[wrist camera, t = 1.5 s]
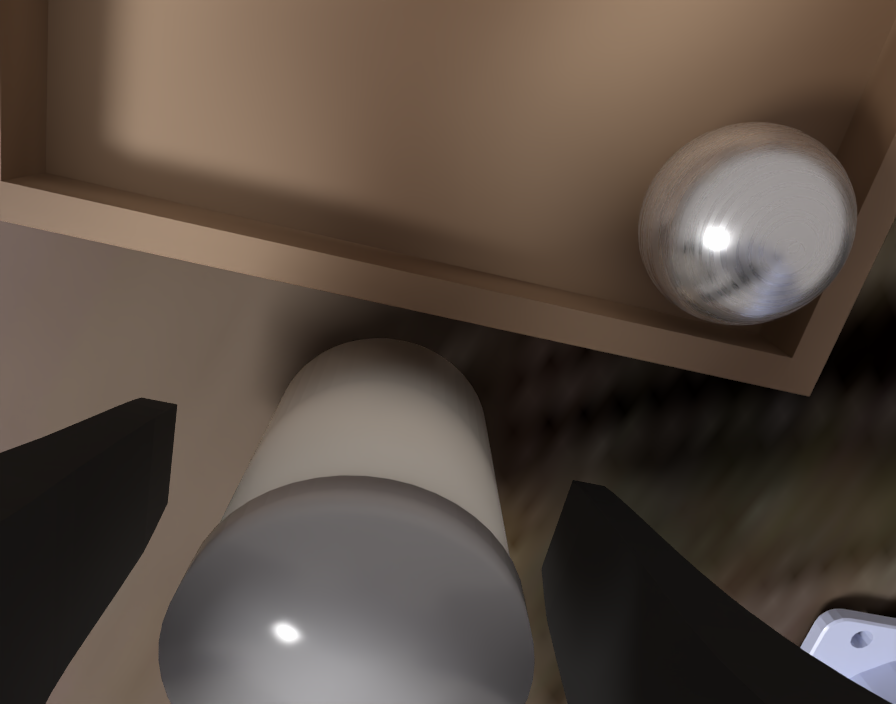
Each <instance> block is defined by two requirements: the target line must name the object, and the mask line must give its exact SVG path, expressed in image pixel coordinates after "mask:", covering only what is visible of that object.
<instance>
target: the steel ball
mask: <svg viewBox="0 0 896 704" xmlns="http://www.w3.org/2000/svg"><path fill="white" fill-rule="evenodd" d="M856 225H857V204H856V197H855V194H854V190H853V187H852V184H851V181H850V179H849V177H848V175H847V173H846V171H845V169H844V168H843V166H842V165H841V163H840V162H839V160H838V159H837V158H836V157H835V156H834V155H833V154H832V153H831V152H830V151H829V149H828V148H827V147H825V146H824V145H823V144H822V143H820V142H819V141H818V140H816V139H814V138H813V137H811V136H809V135H807V134H805V133H803V132H802V131H800V130H797V129H794V128H791V127H788V126H784V125H779V124H774V123H768V122H748V123H738V124H732V125H728V126H723V127H720V128H718V129H715V130H712V131H710V132H707V133H705V134H703V135H701V136H699V137H697V138H695V139H693V140H692V141H690V142H689V143H687V144H686V145H684V146H683V147H681V148H680V149H679V150H678V151H677V152H676V153H674V154H673V155H672V156H671V157H670V158H669V159H668V160H667V162H666V163H665V164H664V165H663V166H662V167H661V168H660V170H659V171H658V173H657V174H656V175H655V177H654V178H653V180H652V182H651V184H650V185H649V187H648V189H647V192H646V194H645V196H644V199H643V202H642V206H641V209H640V214H639V221H638V244H639V250H640V254H641V258H642V261H643V264H644V266H645V268H646V271H647V273H648V275H649V277H650V278H651V280H652V282H653V283H654V285H655V286H656V287H657V288H658V289H659V291H660V292H661V293H662V294H663V295H664V296H665V297H666V298H667V299H668V300H669V301H670V302H671V303H673V304H674V305H675V306H677V307H679V308H680V309H682V310H683V311H685V312H686V313H688V314H690V315H693V316H695V317H697V318H700V319H703V320H706V321H710V322H713V323H718V324H724V325H753V324H760V323H764V322H769V321H772V320H775V319H778V318H781V317H784V316H787V315H789V314H791V313H793V312H795V311H797V310H799V309H800V308H802V307H804V306H805V305H807V304H808V303H810V302H811V301H812V300H814V299H815V298H816V297H817V296H819V295H820V294H821V293H822V292H823V291H824V290H825V289H826V288H827V287H828V286H829V285H830V284H831V282H832V281H833V280H834V279H835V278H836V276H837V275H838V273H839V272H840V270H841V269H842V267H843V265H844V264H845V262H846V260H847V258H848V256H849V253H850V251H851V248H852V245H853V241H854V237H855V233H856Z"/></svg>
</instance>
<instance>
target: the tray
mask: <svg viewBox="0 0 896 704" xmlns="http://www.w3.org/2000/svg"><path fill="white" fill-rule="evenodd" d="M748 122H768V123H774V124H779V125H784V126H788V127H791V128H794V129H797V130H800V131H802V132H803V133H805V134H807V135H809V136H811V137H813V138H814V139H816V140H818V141H819V142H820V143H822V144H823V145H824V146H825V147H827V148H828V149H829V151H830V152H831V153H832V154H833V155H834V156H835V157H836V158H837V159H838V160H839V162H840V163H841V165H842V166H843V168H844V169H845V171H846V173H847V175H848V177H849V179H850V181H851V184H852V187H853V190H854V194H855V197H856V204H857V225H856V233H855V237H854V241H853V245H852V248H851V251H850V253H849V256H848V258H847V260H846V262H845V264H844V265H843V267H842V269H841V270H840V272H839V273H838V275H837V276H836V278H835V279H834V280H833V281H832V282H831V284H830V285H829V286H828V287H827V288H826V289H825V290H824V291H823V292H822V293H821V294H820V295H819V296H817V297H816V298H815V299H814V300H812V301H811V302H810V303H808V304H807V305H805V306H804V307H802V308H800V309H799V310H797V311H795V312H793V313H791V314H789V315H787V316H784V317H781V318H778V319H775V320H772V321H769V322H764V323H760V324H753V325H724V324H718V323H713V322H710V321H706V320H703V319H700V318H697V317H695V316H693V315H690V314H688V313H686V312H685V311H683V310H682V309H680V308H679V307H677V306H675V305H674V304H673V303H671V302H670V301H669V300H668V299H667V298H666V297H665V296H664V295H663V294H662V293H661V292H660V291H659V289H658V288H657V287H656V286H655V285H654V283H653V282H652V280H651V278H650V277H649V275H648V273H647V271H646V268H645V266H644V264H643V261H642V258H641V254H640V250H639V244H638V221H639V214H640V209H641V206H642V202H643V199H644V196H645V194H646V192H647V189H648V187H649V185H650V184H651V182H652V180H653V178H654V177H655V175H656V174H657V173H658V171H659V170H660V168H661V167H662V166H663V165H664V164H665V163H666V162H667V160H668V159H669V158H670V157H671V156H672V155H673V154H674V153H676V152H677V151H678V150H679V149H680V148H681V147H683V146H684V145H686V144H687V143H689V142H690V141H692V140H693V139H695V138H697V137H699V136H701V135H703V134H705V133H707V132H710V131H712V130H715V129H718V128H720V127H723V126H728V125H732V124H738V123H748ZM895 218H896V0H0V221H4V222H9V223H14V224H18V225H23V226H27V227H32V228H37V229H41V230H46V231H50V232H55V233H60V234H64V235H69V236H73V237H78V238H83V239H87V240H92V241H96V242H101V243H106V244H110V245H115V246H119V247H124V248H129V249H133V250H138V251H142V252H147V253H152V254H156V255H161V256H165V257H170V258H175V259H179V260H184V261H188V262H193V263H198V264H202V265H207V266H211V267H216V268H221V269H225V270H230V271H234V272H239V273H244V274H248V275H253V276H257V277H262V278H267V279H271V280H276V281H280V282H285V283H289V284H294V285H299V286H303V287H308V288H312V289H317V290H322V291H326V292H331V293H335V294H340V295H345V296H349V297H354V298H358V299H363V300H368V301H372V302H377V303H381V304H386V305H391V306H395V307H400V308H404V309H409V310H414V311H418V312H423V313H427V314H432V315H437V316H441V317H446V318H450V319H455V320H460V321H464V322H469V323H473V324H478V325H483V326H487V327H492V328H496V329H501V330H506V331H510V332H515V333H519V334H524V335H529V336H533V337H538V338H542V339H547V340H552V341H556V342H561V343H565V344H570V345H575V346H579V347H584V348H588V349H593V350H598V351H602V352H607V353H611V354H616V355H621V356H625V357H630V358H634V359H639V360H644V361H648V362H653V363H657V364H662V365H667V366H671V367H676V368H680V369H685V370H690V371H694V372H699V373H703V374H708V375H713V376H717V377H722V378H726V379H731V380H736V381H740V382H745V383H749V384H754V385H759V386H763V387H768V388H772V389H777V390H782V391H786V392H791V393H795V394H800V395H805V396H809V397H810V394H811V392H812V390H813V388H814V386H815V384H816V382H817V380H818V378H819V376H820V374H821V372H822V369H823V367H824V365H825V363H826V361H827V359H828V357H829V355H830V353H831V351H832V349H833V347H834V345H835V342H836V340H837V338H838V336H839V334H840V332H841V330H842V328H843V326H844V324H845V322H846V320H847V317H848V315H849V313H850V311H851V309H852V307H853V305H854V303H855V301H856V299H857V297H858V295H859V292H860V290H861V288H862V286H863V284H864V282H865V280H866V278H867V276H868V274H869V272H870V270H871V267H872V265H873V263H874V261H875V259H876V257H877V255H878V253H879V251H880V249H881V247H882V245H883V243H884V240H885V238H886V236H887V234H888V232H889V230H890V228H891V226H892V224H893V222H894V220H895Z"/></svg>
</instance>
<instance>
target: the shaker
mask: <svg viewBox="0 0 896 704" xmlns="http://www.w3.org/2000/svg"><path fill="white" fill-rule="evenodd" d="M159 666H160V672H161V678H162V682H163V685H164V687H165V690H166V693H167V696H168V698H169V700H170V702H171V704H525V702H526V700H527V698H528V695H529V691H530V688H531V684H532V680H533V672H534V646H533V640H532V634H531V629H530V624H529V619H528V614H527V608H526V603H525V598H524V594H523V589H522V585H521V581H520V578H519V576H518V573H517V571H516V568H515V566H514V564H513V562H512V560H511V558H510V556H509V551H508V545H507V540H506V534H505V528H504V523H503V517H502V512H501V506H500V500H499V495H498V489H497V483H496V478H495V472H494V467H493V461H492V455H491V450H490V444H489V438H488V433H487V427H486V422H485V417H484V413H483V408H482V406H481V403H480V401H479V398H478V396H477V394H476V392H475V391H474V389H473V387H472V385H471V384H470V383H469V381H468V380H467V379H466V378H465V376H464V375H463V374H462V373H461V372H460V371H459V370H458V369H457V368H456V367H455V366H454V365H453V364H451V363H450V362H449V361H447V360H446V359H445V358H444V357H442V356H440V355H438V354H437V353H435V352H433V351H431V350H429V349H427V348H425V347H422V346H420V345H417V344H414V343H410V342H407V341H402V340H396V339H388V338H371V339H361V340H356V341H352V342H347V343H344V344H341V345H338V346H336V347H333V348H331V349H329V350H327V351H325V352H323V353H321V354H320V355H318V356H317V357H315V358H314V359H313V360H311V361H310V362H308V363H307V364H306V365H305V366H304V367H303V368H302V369H301V370H300V371H299V372H298V373H297V375H296V376H295V377H294V378H293V380H292V381H291V382H290V384H289V386H288V387H287V389H286V391H285V392H284V394H283V396H282V399H281V401H280V403H279V405H278V407H277V409H276V411H275V413H274V415H273V417H272V419H271V421H270V423H269V425H268V427H267V429H266V431H265V433H264V435H263V437H262V439H261V441H260V443H259V445H258V447H257V449H256V451H255V453H254V455H253V457H252V459H251V461H250V463H249V465H248V467H247V469H246V471H245V473H244V475H243V477H242V479H241V481H240V483H239V485H238V487H237V489H236V491H235V493H234V495H233V497H232V499H231V501H230V503H229V505H228V507H227V509H226V511H225V513H224V515H223V517H222V519H221V521H220V523H219V524H218V525H217V526H216V527H215V528H214V529H213V531H212V532H211V533H210V534H209V535H208V537H207V538H206V539H205V540H204V541H203V543H202V545H201V546H200V548H199V550H198V551H197V553H196V555H195V556H194V558H193V560H192V562H191V564H190V566H189V568H188V570H187V571H186V573H185V575H184V577H183V579H182V581H181V583H180V585H179V587H178V589H177V591H176V593H175V595H174V597H173V599H172V601H171V602H170V605H169V607H168V610H167V612H166V615H165V618H164V620H163V623H162V628H161V633H160V638H159Z"/></svg>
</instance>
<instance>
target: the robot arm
mask: <svg viewBox="0 0 896 704" xmlns="http://www.w3.org/2000/svg"><path fill="white" fill-rule="evenodd" d="M176 412H177V404H172V403H167V402H162V401H156V400H151V399H146V398H139V399H135V400H132V401H130V402H127V403H124V404H122V405H119V406H117V407H114V408H112V409H110V410H107V411H105V412H103V413H100V414H98V415H95V416H93V417H91V418H88V419H86V420H84V421H81V422H79V423H76V424H74V425H72V426H69V427H67V428H64V429H62V430H59V431H57V432H55V433H52V434H50V435H47V436H45V437H42V438H40V439H37V440H34V441H32V442H29V443H26V444H23V445H21V446H18V447H15V448H12V449H10V450H7V451H4V452H2V453H0V704H45V703H46V702H47V700H48V698H49V696H50V694H51V692H52V691H53V689H54V687H55V686H56V684H57V682H58V681H59V679H60V677H61V676H62V674H63V673H64V671H65V669H66V668H67V666H68V664H69V663H70V661H71V660H72V658H73V657H74V655H75V654H76V652H77V651H78V650H79V648H80V647H81V645H82V644H83V642H84V641H85V639H86V638H87V636H88V635H89V633H90V632H91V630H92V629H93V627H94V626H95V624H96V623H97V621H98V620H99V618H100V617H101V615H102V614H103V612H104V611H105V609H106V608H107V606H108V605H109V603H110V602H111V601H112V599H113V598H114V596H115V595H116V593H117V592H118V590H119V589H120V587H121V586H122V584H123V583H124V581H125V580H126V578H127V577H128V575H129V574H130V572H131V571H132V569H133V567H134V566H135V564H136V563H137V561H138V560H139V558H140V557H141V555H142V554H143V552H144V550H145V548H146V546H147V544H148V542H149V540H150V538H151V536H152V534H153V532H154V530H155V528H156V526H157V524H158V522H159V520H160V518H161V516H162V514H163V512H164V509H165V507H166V505H167V503H168V494H169V483H170V473H171V463H172V453H173V442H174V432H175V422H176ZM542 577H543V589H544V599H545V607H546V616H547V621H548V626H549V630H550V634H551V638H552V643H553V647H554V651H555V655H556V659H557V663H558V667H559V671H560V675H561V679H562V683H563V687H564V691H565V695H566V699H567V703H568V704H896V618H892V617H886V616H881V615H875V614H870V613H864V612H858V611H853V610H847V609H831V610H828V611H826V612H824V613H822V614H821V615H820V616H819V617H818V618H817V619H816V620H815V622H814V624H813V626H812V628H811V629H810V631H809V633H808V635H807V636H806V638H805V640H804V642H803V644H802V645H801V647H798V646H797V645H795V644H794V643H792V642H791V641H789V640H788V639H786V638H785V637H783V636H782V635H781V634H779V633H778V632H776V631H775V630H774V629H772V628H771V627H770V626H768V625H767V624H765V623H764V622H763V621H761V620H760V619H759V618H757V617H756V616H754V615H753V614H752V613H750V612H749V611H748V610H746V609H745V608H744V607H742V606H741V605H740V604H738V603H737V602H736V601H735V600H733V599H732V598H731V597H730V596H728V595H727V594H726V593H725V592H724V591H722V590H721V589H720V588H719V587H718V586H716V585H715V584H714V583H713V582H712V581H710V580H709V579H708V578H707V577H706V576H704V575H703V574H702V573H701V572H700V571H698V570H697V569H696V568H695V567H694V566H693V565H692V564H690V563H689V562H688V561H687V560H686V559H685V558H684V557H683V556H681V555H680V554H679V553H678V552H677V551H676V550H675V549H674V548H673V547H672V546H670V545H669V544H668V543H667V542H666V541H665V540H664V539H663V538H662V537H661V536H660V535H659V534H658V533H656V532H655V531H654V530H653V529H652V528H651V527H650V526H649V525H648V524H647V523H646V522H645V521H644V520H643V519H642V518H640V517H639V516H638V515H637V514H636V513H635V512H634V511H633V510H632V509H631V508H630V507H629V506H627V505H626V504H625V503H624V502H623V501H622V500H621V499H620V498H618V497H617V496H616V495H615V494H614V493H613V492H611V491H610V490H609V489H607V488H606V487H605V486H601V485H596V484H590V483H585V482H580V481H575V480H573V481H572V484H571V487H570V490H569V493H568V495H567V498H566V501H565V504H564V507H563V510H562V512H561V515H560V518H559V521H558V524H557V526H556V529H555V532H554V535H553V538H552V540H551V543H550V546H549V549H548V552H547V554H546V557H545V560H544V563H543V566H542Z"/></svg>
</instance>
